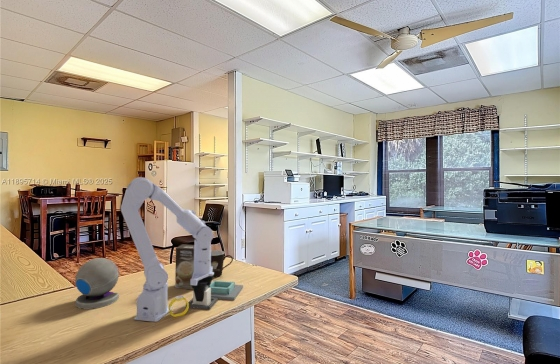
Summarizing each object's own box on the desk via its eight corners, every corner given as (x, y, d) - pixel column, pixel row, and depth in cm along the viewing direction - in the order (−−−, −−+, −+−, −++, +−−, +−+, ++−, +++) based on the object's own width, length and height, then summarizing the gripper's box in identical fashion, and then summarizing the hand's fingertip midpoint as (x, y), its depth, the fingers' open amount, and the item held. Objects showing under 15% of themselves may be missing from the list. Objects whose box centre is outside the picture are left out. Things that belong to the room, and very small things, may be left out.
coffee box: (174, 288, 116) (174, 247, 116) (181, 282, 123) (181, 244, 122) (196, 289, 115) (197, 248, 115) (202, 283, 122) (203, 244, 122)
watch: (186, 312, 97) (188, 294, 97) (188, 316, 94) (190, 297, 95) (167, 315, 94) (169, 296, 94) (169, 319, 91) (170, 299, 92)
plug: (206, 306, 100) (207, 288, 100) (193, 305, 101) (193, 287, 101) (210, 301, 104) (210, 285, 104) (197, 300, 105) (197, 284, 105)
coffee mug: (200, 277, 130) (201, 254, 129) (211, 271, 138) (211, 249, 138) (224, 280, 126) (225, 256, 126) (233, 273, 134) (233, 252, 134)
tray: (210, 309, 98) (210, 306, 98) (185, 307, 100) (185, 304, 100) (217, 300, 105) (217, 297, 105) (194, 298, 107) (194, 296, 107)
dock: (234, 300, 106) (234, 291, 106) (197, 297, 108) (197, 289, 108) (243, 287, 118) (243, 280, 118) (209, 285, 120) (209, 278, 120)
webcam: (126, 296, 108) (126, 255, 108) (96, 311, 96) (96, 265, 96) (98, 292, 112) (98, 252, 111) (65, 306, 99) (65, 262, 99)
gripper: (205, 266, 94) (204, 308, 95) (220, 254, 109) (220, 291, 109) (184, 265, 95) (184, 307, 96) (202, 253, 110) (202, 290, 110)
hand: (202, 298), depth 103 cm, fingers closed on plug, 3 cm apart
